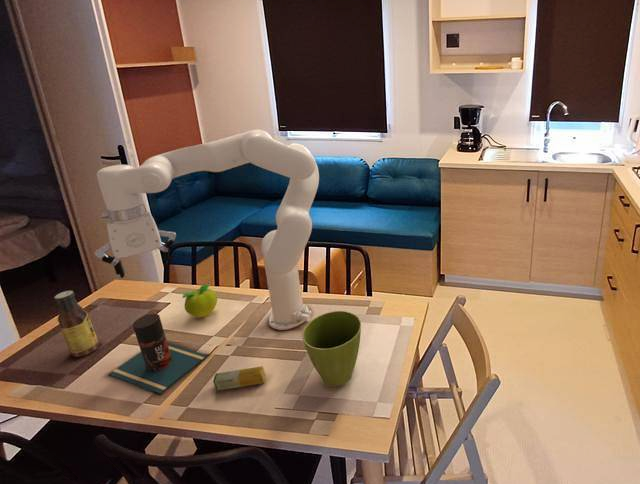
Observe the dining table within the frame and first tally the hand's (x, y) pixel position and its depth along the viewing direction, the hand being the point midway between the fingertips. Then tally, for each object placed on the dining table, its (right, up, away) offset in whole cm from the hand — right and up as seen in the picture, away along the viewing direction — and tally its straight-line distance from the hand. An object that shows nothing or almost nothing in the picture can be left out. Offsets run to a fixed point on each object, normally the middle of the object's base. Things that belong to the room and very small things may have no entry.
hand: (145, 269), depth 106 cm
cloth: (0, -29, +5) cm, 29 cm away
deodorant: (0, -29, +5) cm, 29 cm away
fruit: (0, -22, +26) cm, 34 cm away
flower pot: (+53, -30, +1) cm, 61 cm away
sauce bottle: (-26, -27, +10) cm, 39 cm away
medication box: (+27, -31, -2) cm, 42 cm away
